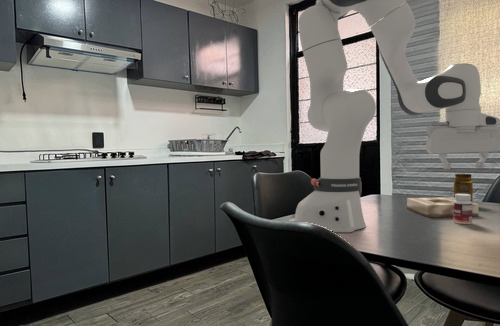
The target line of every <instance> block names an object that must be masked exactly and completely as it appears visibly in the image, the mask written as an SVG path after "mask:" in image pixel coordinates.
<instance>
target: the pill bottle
mask: <svg viewBox="0 0 500 326" xmlns="http://www.w3.org/2000/svg"><path fill="white" fill-rule="evenodd" d="M455 199H456V200H455V201H454V202H453V217H452V218H453V223H454V224H455V223H456V224H459V225H471V224H473V216H472V203H473V201H472V202H471V201H470V200H471V195H470V194H455Z"/></svg>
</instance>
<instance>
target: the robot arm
mask: <svg viewBox="0 0 500 326" xmlns="http://www.w3.org/2000/svg"><path fill="white" fill-rule="evenodd" d="M350 11H354V12H356V13H359V14H360V15H361V16H362V18H363V19H364V20H365V22H366V23H367V25H368V28H369V29H370V30H371V33H372V34H373V36H374V38H375V41H376V42H377V45H378V50H379V54H380V57H381V60H382V62H383V64H384V66H385V68H386V70H387V73H388V75H389V77H390V80H391V81H392V83H393V85H394V88H395V90H396V94H397V100H398V105H399V107H400V109H401V110H402V111H403V112H404V113H406V114H407V115H411V116H419V115H423V114H427V113H429V112H436V111H439V110H444V109H445V121H440V122H437V121H434V122H431V123H430V124H428V126H427V127H426V144H425V151H426V152H427V153H428V154H431V155H437V154H438V158H439V160H440V162H441V163H442V169H444V170H451V169H452V162H448V159H447V157H448V154H459V153H460V154H461V153H466V154H467V153H478V155H479V158H478V159H479V160H478V161H475V168H477V169H483V168H485V162H486V160H487V159H488V158H489V155H490V154H489V152H490V153H491V152H500V127H499V125H500V118H499V117H496V116H493V115H489V114H486V113H482V107H481V105H480V99H481V95H482V92H481V91H482V90H481V89H482V87H481V83H482V82H481V76H480V72H479V70H478V69H479V68H477V66H476V65H474V64H471V63H464V62H463V63H456V64H451V65H450V66H448V67H447V68H446V69H445V70H443V71H442V72H439V73H438V74H436V75H433V76H431V77H427V78H425V79H423V80H419V79H418V78H416V76H415V74H414V72H413V70H412V67H411V65H410V63H409V61H408V59H407V55H406V49H407V45H408V44H409V41H410V39H411V38H412V36H413V35H414V31H415V29H416V23H417V22H416V18H415V14H414V12H413V10H412V8H411V7H410V5H409V3H408V2H407V0H315V4H314V5H312V6H309V7H307V8H306V9H305V10H303V11H302V12H301V14H300V15H299V17H298V32H299V33H298V34H299V35H298V36H299V39H300V40H299V41H300V47H301V50H302V54H303V58H304V61H305V65H306V69H307V73H308V78H309V86H310V88H309V90H310V94H309V96H310V98H309V99H310V101H309V102H310V103H309V106H308V109H307V119H308V120H307V121H308V122H309V124H310V125H311V126H312V128H314V129H315V130H319V131H322V132H327V137H326V141H325V142H324V145H323V147H322V148H321V150H320V153H319V154H320V155H319V156H320V177H318V178H317V179H316V178H311V180H310V184H311V185H312V186H313V189H314V190H313V191H312V192H311V193H310V194H308V195H307V196H306V197H304V198H303V199H302V200H301V201H299V202H298V204H297V206H296V209H295V217H293V218H290V219H289V220H288V221H298V222H308V223H313V224H317V225H320V226H323V227H326V228H327V229H329V230H332V231H333V232H332V233H353V232H354V231H357V230H360V229H363V228H366V227H367V225H366V221H365V218H364V214H363V213H364V212H363V209H362V201H361V197H362V178H361V177H360V153H361V146H362V141H363V137H364V134H365V131H366V129H367V127H368V125H369V124H370V122H371V121H372V120H374V117H375V115H376V111H377V106H376V101H375V98H374V97H373V95H372V94H371V93H370V92H368V91H367V90H364V89H353V88H349V89H345V90H344V78H345V75H346V72H347V70H348V62H347V61H348V60H347V57H346V53H345V49H344V46H343V45H344V44H343V43H342V38H341V34H340V31H339V21H340V20H341V19H343V18H344V17H345V16H346V15H348V13H350Z"/></svg>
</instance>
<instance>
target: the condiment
mask: <svg viewBox="0 0 500 326" xmlns="http://www.w3.org/2000/svg"><path fill="white" fill-rule="evenodd" d="M454 179H455V180H454V181H453V198H455V194H470V195H471V200H470V201H471V202H472V203H473V194H474V191H473V187H474V186H473V184H474V183H473V181H472V174H471V173H455V174H454Z"/></svg>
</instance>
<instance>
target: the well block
mask: <svg viewBox="0 0 500 326" xmlns="http://www.w3.org/2000/svg"><path fill="white" fill-rule="evenodd" d="M455 200H456V199H455V198H454V197H452V196H451V197H450V196H449V197H445V196H443V197H407V198H406V209H407V210H410V211H412V212H415V213H416V214H419V215H422V216H424V217H427V218H439V217H441V218H444V217H445V218H447V217H448V218H449V217H452V218H453V202H454V201H455ZM479 207H480V205H479V203H475V202H472V217H479V214H480V213H479Z"/></svg>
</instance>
